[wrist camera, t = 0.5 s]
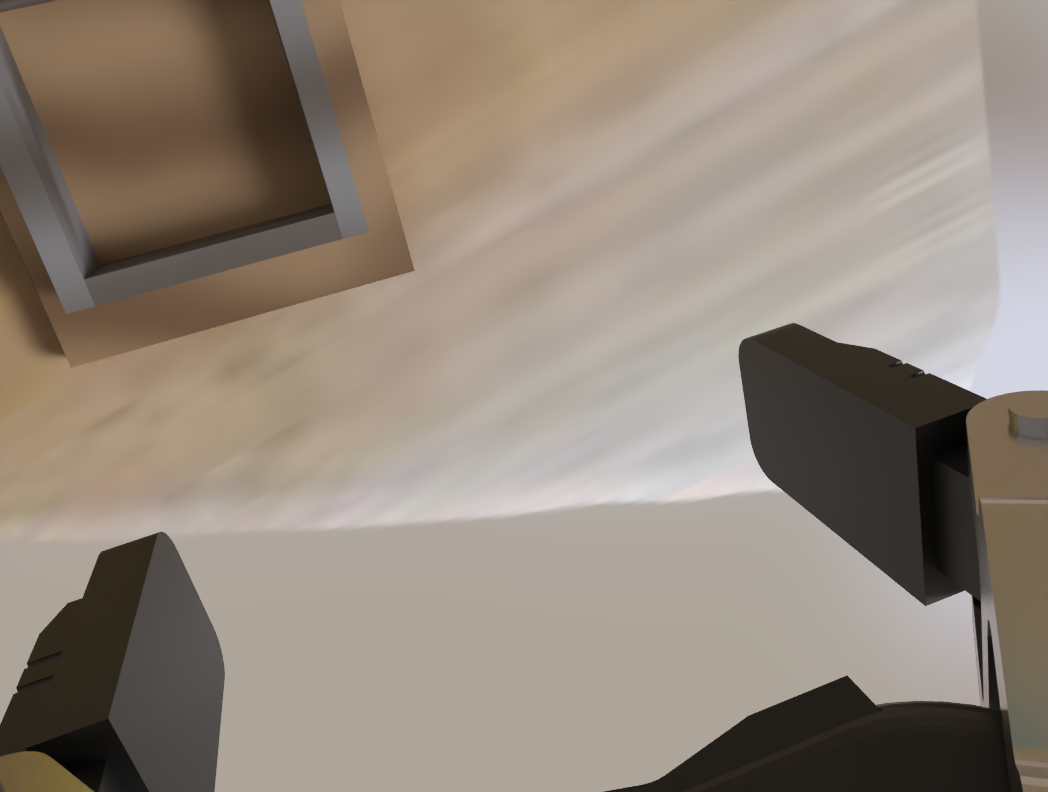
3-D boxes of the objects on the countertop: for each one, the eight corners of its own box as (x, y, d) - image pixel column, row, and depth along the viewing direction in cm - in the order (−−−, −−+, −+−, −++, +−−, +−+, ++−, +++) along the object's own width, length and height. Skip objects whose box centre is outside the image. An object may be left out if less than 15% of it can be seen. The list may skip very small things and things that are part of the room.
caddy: (-114, -76, 29) (-179, -105, 25) (291, -155, 32) (293, -194, 27) (79, 357, 35) (52, 391, 31) (409, 264, 37) (425, 284, 33)
